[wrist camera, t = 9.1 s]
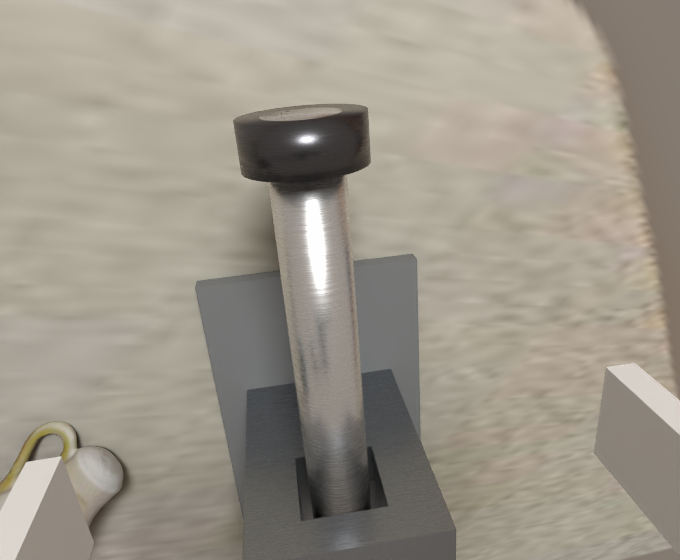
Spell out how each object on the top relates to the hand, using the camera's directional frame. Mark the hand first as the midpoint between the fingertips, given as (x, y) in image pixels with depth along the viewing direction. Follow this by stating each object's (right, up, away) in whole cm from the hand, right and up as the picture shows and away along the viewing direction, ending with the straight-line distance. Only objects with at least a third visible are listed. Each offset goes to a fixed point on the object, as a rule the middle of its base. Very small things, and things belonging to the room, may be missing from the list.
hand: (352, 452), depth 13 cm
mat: (-2, -6, +27) cm, 27 cm away
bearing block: (-2, -6, +27) cm, 27 cm away
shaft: (-1, +1, +15) cm, 15 cm away
